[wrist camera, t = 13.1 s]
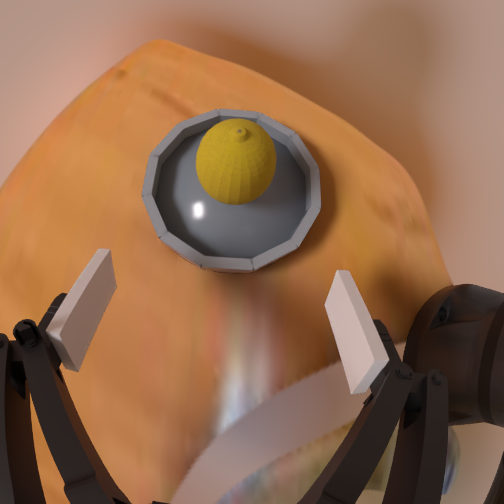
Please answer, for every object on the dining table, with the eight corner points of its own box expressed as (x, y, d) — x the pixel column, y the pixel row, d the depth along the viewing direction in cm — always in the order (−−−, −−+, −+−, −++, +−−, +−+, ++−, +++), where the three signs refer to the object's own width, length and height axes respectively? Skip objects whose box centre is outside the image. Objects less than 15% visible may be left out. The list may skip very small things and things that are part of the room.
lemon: (228, 147, 24) (234, 84, 16) (279, 184, 24) (305, 130, 16) (185, 191, 23) (171, 136, 15) (237, 232, 22) (247, 192, 15)
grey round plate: (308, 134, 26) (315, 120, 24) (311, 277, 23) (322, 273, 21) (165, 123, 25) (161, 107, 22) (140, 267, 22) (131, 261, 20)
